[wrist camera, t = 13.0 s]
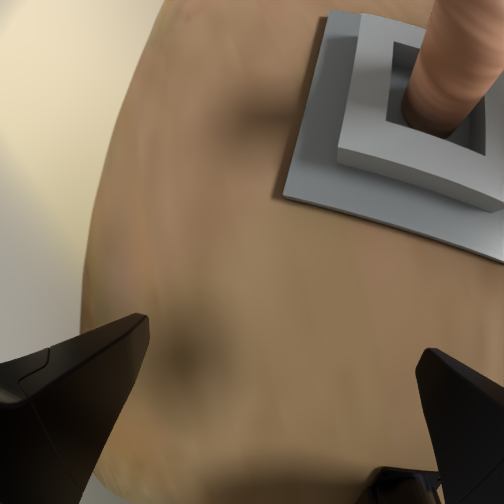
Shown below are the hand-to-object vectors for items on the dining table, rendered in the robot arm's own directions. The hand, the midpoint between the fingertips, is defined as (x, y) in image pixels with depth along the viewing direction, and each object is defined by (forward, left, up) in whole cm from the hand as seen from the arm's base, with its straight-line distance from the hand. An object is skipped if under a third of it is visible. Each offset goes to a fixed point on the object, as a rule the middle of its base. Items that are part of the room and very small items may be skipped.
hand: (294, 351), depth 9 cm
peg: (-5, -15, -11) cm, 20 cm away
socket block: (-5, -15, -12) cm, 20 cm away
